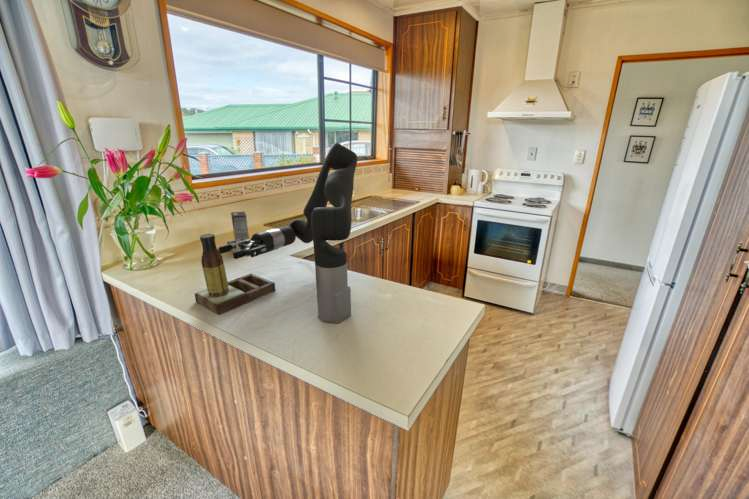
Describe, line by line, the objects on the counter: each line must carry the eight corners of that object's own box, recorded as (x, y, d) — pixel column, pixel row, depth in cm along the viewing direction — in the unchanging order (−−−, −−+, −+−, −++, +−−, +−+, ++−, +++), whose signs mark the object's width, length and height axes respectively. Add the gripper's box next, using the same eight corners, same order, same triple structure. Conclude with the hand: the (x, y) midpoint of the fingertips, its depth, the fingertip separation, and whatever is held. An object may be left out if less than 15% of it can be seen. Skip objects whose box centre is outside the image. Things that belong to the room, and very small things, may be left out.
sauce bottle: (222, 287, 115) (213, 230, 108) (233, 292, 111) (224, 234, 105) (203, 294, 110) (192, 235, 103) (214, 300, 106) (203, 239, 100)
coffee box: (235, 243, 170) (230, 212, 165) (249, 242, 173) (245, 211, 167) (236, 249, 162) (231, 216, 157) (250, 247, 165) (246, 215, 159)
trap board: (275, 290, 120) (274, 282, 119) (218, 314, 104) (217, 305, 103) (251, 280, 128) (250, 272, 127) (196, 301, 112) (194, 292, 111)
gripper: (255, 227, 125) (212, 238, 113) (280, 234, 117) (237, 246, 104) (257, 247, 127) (216, 259, 115) (282, 254, 119) (240, 269, 107)
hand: (226, 253), depth 110 cm, fingers open, 8 cm apart
